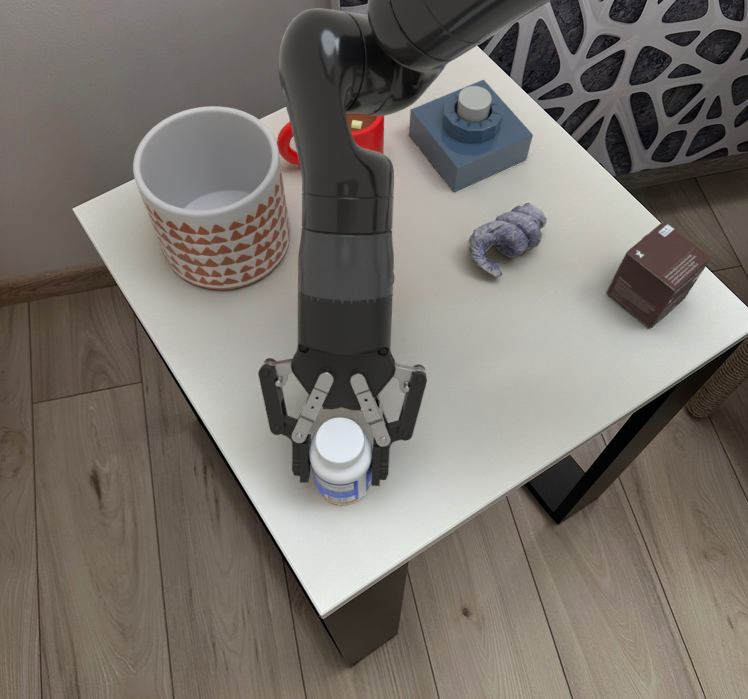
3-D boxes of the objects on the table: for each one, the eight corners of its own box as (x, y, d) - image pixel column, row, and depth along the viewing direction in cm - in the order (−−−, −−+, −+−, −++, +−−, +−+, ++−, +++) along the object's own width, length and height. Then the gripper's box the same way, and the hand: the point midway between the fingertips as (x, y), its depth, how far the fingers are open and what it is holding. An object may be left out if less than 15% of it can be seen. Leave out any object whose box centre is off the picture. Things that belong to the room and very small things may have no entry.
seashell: (477, 285, 82) (534, 232, 86) (508, 280, 78) (567, 225, 81) (451, 244, 81) (510, 192, 85) (481, 236, 76) (542, 182, 80)
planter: (295, 191, 87) (284, 106, 75) (284, 294, 80) (271, 217, 69) (174, 188, 87) (145, 102, 76) (154, 290, 80) (119, 212, 69)
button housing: (479, 105, 93) (486, 65, 88) (526, 159, 89) (536, 121, 84) (408, 134, 91) (411, 95, 86) (453, 192, 87) (459, 155, 82)
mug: (273, 149, 90) (266, 97, 83) (372, 128, 91) (373, 76, 84) (288, 200, 86) (282, 150, 79) (391, 177, 88) (393, 127, 81)
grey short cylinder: (477, 95, 86) (479, 81, 85) (495, 116, 85) (498, 101, 83) (450, 106, 86) (452, 92, 84) (468, 127, 84) (470, 113, 82)
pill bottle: (344, 439, 72) (341, 395, 64) (385, 478, 71) (387, 438, 62) (301, 477, 71) (292, 437, 62) (341, 519, 69) (337, 484, 60)
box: (649, 331, 78) (674, 291, 72) (603, 293, 80) (624, 252, 74) (686, 298, 80) (714, 256, 74) (641, 262, 82) (664, 219, 76)
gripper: (246, 292, 57) (248, 497, 62) (439, 299, 57) (426, 505, 62) (262, 273, 64) (263, 459, 69) (433, 280, 64) (423, 465, 69)
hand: (340, 479), depth 66 cm, fingers closed on pill bottle, 5 cm apart
